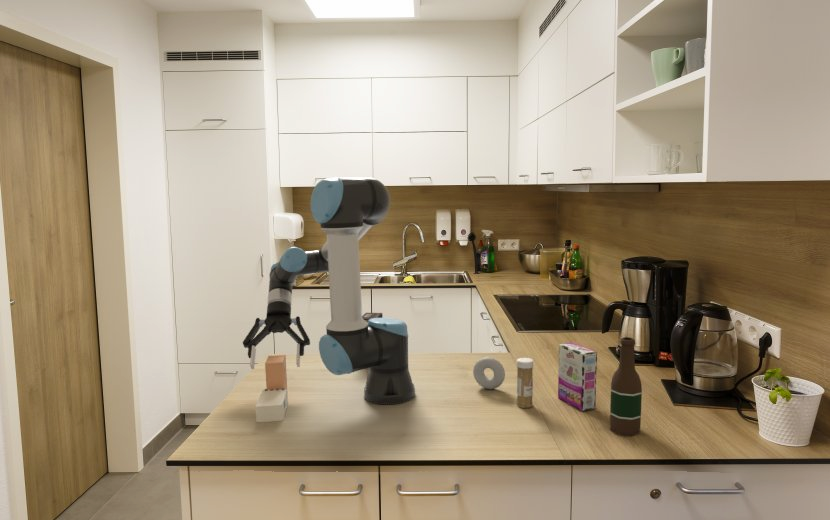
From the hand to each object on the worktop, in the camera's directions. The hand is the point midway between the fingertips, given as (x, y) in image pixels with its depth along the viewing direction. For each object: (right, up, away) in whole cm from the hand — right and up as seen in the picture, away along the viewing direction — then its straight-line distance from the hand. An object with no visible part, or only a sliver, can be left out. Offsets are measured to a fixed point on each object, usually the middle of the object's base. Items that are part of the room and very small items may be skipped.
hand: (275, 366), depth 177 cm
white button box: (+2, -11, -12) cm, 17 cm away
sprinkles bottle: (+73, -9, -11) cm, 74 cm away
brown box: (+1, -9, -2) cm, 10 cm away
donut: (+65, -8, +3) cm, 65 cm away
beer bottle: (+95, -11, -28) cm, 100 cm away
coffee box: (+27, -4, +33) cm, 43 cm away
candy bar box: (+88, -9, -10) cm, 89 cm away
